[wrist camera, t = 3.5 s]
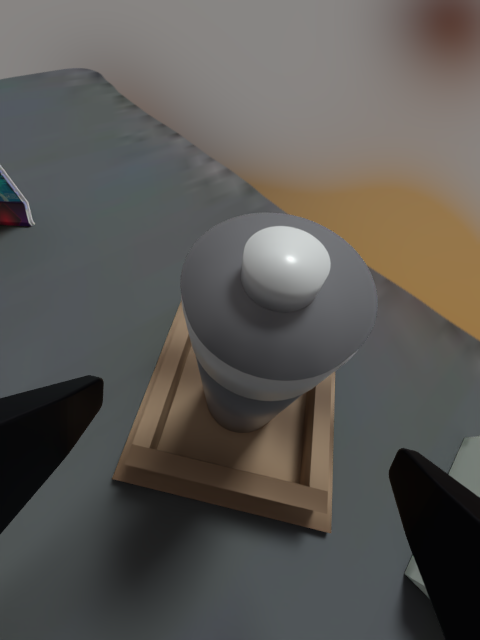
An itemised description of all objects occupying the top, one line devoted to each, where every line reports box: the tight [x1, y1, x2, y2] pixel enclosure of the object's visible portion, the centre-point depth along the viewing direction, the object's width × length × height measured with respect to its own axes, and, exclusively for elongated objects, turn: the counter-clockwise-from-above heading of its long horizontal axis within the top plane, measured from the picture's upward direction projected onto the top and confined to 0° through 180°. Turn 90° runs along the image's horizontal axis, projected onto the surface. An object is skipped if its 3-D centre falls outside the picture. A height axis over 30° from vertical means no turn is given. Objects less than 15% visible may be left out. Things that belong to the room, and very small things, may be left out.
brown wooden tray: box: [112, 301, 335, 533], centre depth 17 cm, size 13×13×2 cm
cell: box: [180, 213, 378, 433], centre depth 12 cm, size 5×5×14 cm
